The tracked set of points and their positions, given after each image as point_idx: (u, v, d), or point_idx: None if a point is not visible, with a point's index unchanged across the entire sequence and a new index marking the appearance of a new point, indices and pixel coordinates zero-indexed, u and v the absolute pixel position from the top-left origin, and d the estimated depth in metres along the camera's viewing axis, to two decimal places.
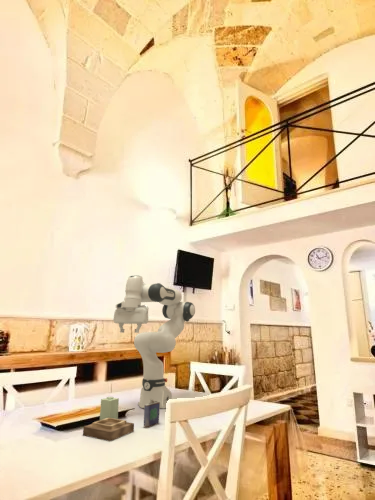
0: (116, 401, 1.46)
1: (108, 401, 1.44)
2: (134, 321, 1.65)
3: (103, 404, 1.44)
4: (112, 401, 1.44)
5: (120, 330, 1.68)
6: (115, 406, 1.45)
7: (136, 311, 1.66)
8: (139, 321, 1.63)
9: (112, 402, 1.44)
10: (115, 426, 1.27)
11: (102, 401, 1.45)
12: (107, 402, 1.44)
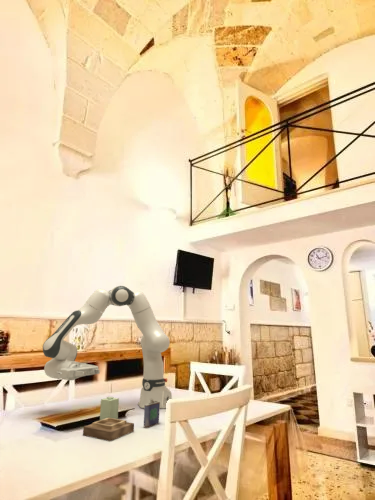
0: (116, 401, 1.46)
1: (108, 401, 1.44)
2: (76, 376, 1.53)
3: (103, 404, 1.45)
4: (112, 401, 1.44)
5: (97, 373, 1.59)
6: (115, 406, 1.45)
7: None
8: (71, 377, 1.51)
9: (112, 402, 1.44)
10: (115, 426, 1.27)
11: (102, 401, 1.45)
12: (107, 402, 1.44)
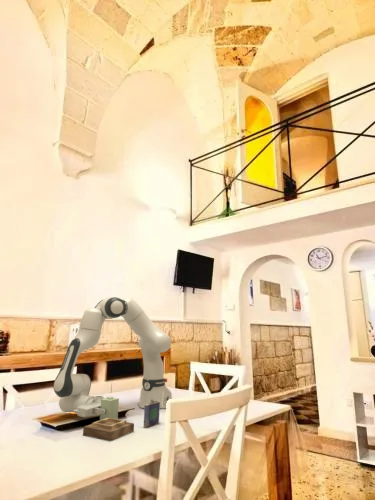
0: (116, 401, 1.46)
1: (108, 401, 1.44)
2: (95, 414, 1.44)
3: (103, 404, 1.45)
4: (112, 401, 1.44)
5: None
6: (115, 406, 1.45)
7: None
8: None
9: (112, 402, 1.44)
10: (115, 426, 1.27)
11: (102, 401, 1.45)
12: (107, 402, 1.44)
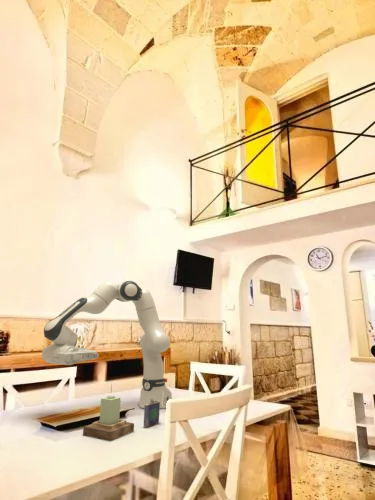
0: (118, 400, 1.33)
1: (109, 400, 1.30)
2: (74, 360, 1.50)
3: (103, 404, 1.31)
4: (113, 400, 1.31)
5: (96, 357, 1.56)
6: (116, 406, 1.32)
7: None
8: (69, 361, 1.47)
9: (113, 401, 1.31)
10: (115, 426, 1.27)
11: (102, 400, 1.32)
12: (108, 402, 1.30)
